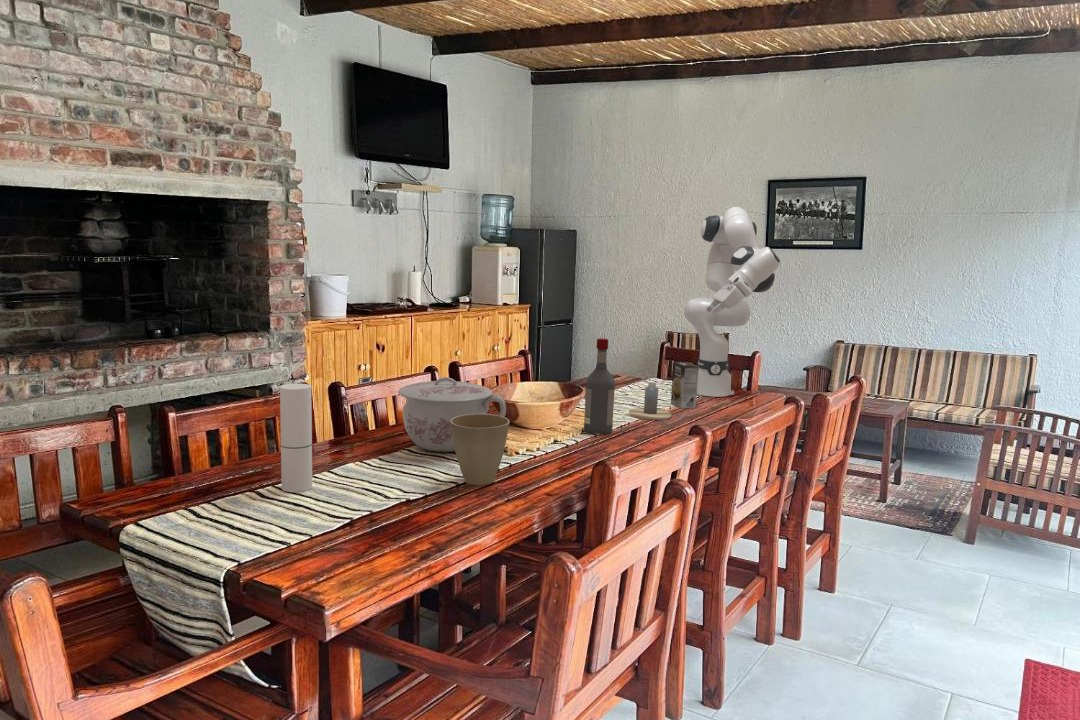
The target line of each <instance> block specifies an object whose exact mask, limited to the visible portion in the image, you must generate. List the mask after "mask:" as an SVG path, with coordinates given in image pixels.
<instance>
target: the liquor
mask: <svg viewBox="0 0 1080 720" xmlns="http://www.w3.org/2000/svg"><path fill="white" fill-rule="evenodd" d="M596 349H597V352H596V353H597V354H596V364H595V368H594V369H593V370H592V372H590V374H589V375H588V376H587V378H586V382H585V399H584V400H585V401H584V418H583V420H584V422H583V429H584V432H585V431H586V433H589V434H595V433H600V434H601V435H607V434H608V435H609V434H611V433H612V432H613V426H614V425H613V424H614V405H615V388H616V387H615V386H616V384H615V383H616V380H615V378H614V377H613V375H612V373H611V372H610V371H609V370H608V368H607V367H608V365H607V355H608V354H607V353H608V352H607V351H608V349H609V338H603V337H602V338H601V337H600V338H597V339H596ZM600 434H599V435H600Z"/></svg>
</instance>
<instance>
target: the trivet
mask: <svg viewBox="0 0 1080 720" xmlns="http://www.w3.org/2000/svg"><path fill="white" fill-rule="evenodd" d="M628 415H629V416H630V417H632V418H634V419H638V420H645V421H665V420H670V419H672V416H673V415H672V412H670V411H668V410H664V409H660V408H657V413H656V414H646V413H644V407H635V408H631V409H629V411H628Z"/></svg>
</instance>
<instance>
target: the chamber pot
mask: <svg viewBox="0 0 1080 720" xmlns="http://www.w3.org/2000/svg"><path fill="white" fill-rule="evenodd" d="M397 393H398V395H400V396H401V397H403V398H405V399H406V401H405V403H404V405H403V407H402V419H403V424H404V428H405V431H406V433H407V434H408V436H409V437H410V439H411V441H412V442H413V443H414V445H416V447H418V448H419V449H420V448H421V449H423V450H426V451H427V452H428V451H429V452H434V453H456V452H455V448H454V443H453V437H452V430H451V423H450V420H451V419H452V418H454V417H457V416H461V415H467V414H488V411H489V407H490V405H489V404H490V403H493V402H496V403H498V404H499V406H500V408H499V409H500V413H499V415H498V416H502V417H505V416H506V414H507V413H506V412H507V403H506V401H505V400H504V398H503V397H502V396H501V395H499V394H498V393H494V394H493V390H492V389H491V388H489V387H487V386H484V385H480V384H476V383H472V382H467V381H456V380H455V379H453V378H451V377H449V376H448V377H446V376H443V377H440V378H438V379H437V380H430V381H429V380H428V381H420V382H415V383H411V384H408V385H407V384H406V385H404V386H402V387H400V388H398V390H397Z"/></svg>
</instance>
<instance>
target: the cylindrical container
mask: <svg viewBox="0 0 1080 720" xmlns="http://www.w3.org/2000/svg"><path fill="white" fill-rule="evenodd" d="M279 399H280V400H279V402H280V403H279V407H280V408H279V411H280V413H279V415H280V463H281V464H280V469H281V472H280V473H281V490H282V491H284V492H287V493H300V492H302V493H303V492H306V491H309V490H311V489H312V488H313V440H312V439H313V434H312V433H313V431H312V430H313V427H312V426H313V422H312V421H313V419H312V417H313V415H312V414H313V413H312V412H313V411H312V408H313V407H312V385H311V384H307V383H288V384H287V383H286V384H283V385H280V386H279Z"/></svg>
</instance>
